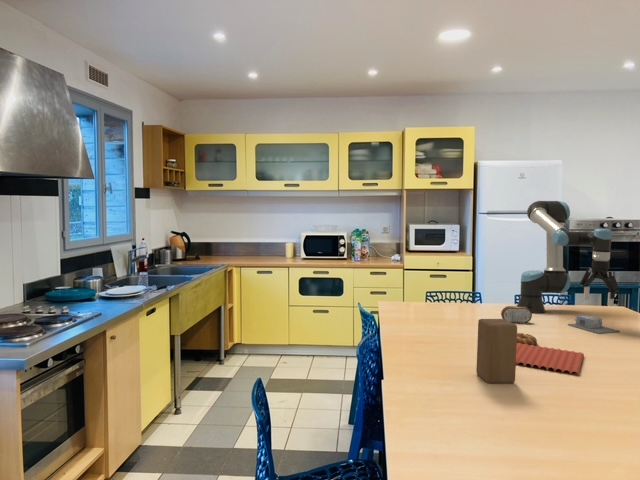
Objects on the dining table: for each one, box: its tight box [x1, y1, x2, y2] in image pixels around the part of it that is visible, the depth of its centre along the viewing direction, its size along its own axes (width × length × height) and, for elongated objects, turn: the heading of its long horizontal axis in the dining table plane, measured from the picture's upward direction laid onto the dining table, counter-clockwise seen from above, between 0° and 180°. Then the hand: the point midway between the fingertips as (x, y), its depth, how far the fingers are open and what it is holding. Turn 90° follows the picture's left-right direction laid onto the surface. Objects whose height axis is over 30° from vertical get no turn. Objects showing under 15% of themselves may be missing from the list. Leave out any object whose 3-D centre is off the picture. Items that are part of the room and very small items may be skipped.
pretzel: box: [517, 332, 538, 346], centre depth 210 cm, size 12×11×4 cm
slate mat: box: [567, 322, 621, 334], centre depth 239 cm, size 18×14×1 cm
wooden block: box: [475, 318, 518, 384], centre depth 163 cm, size 10×10×20 cm
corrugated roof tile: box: [516, 343, 585, 377], centre depth 187 cm, size 28×28×2 cm
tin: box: [500, 305, 533, 324], centre depth 249 cm, size 15×3×8 cm, turn 84°
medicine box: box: [575, 315, 603, 328], centre depth 241 cm, size 8×4×9 cm
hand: (597, 302), depth 238 cm, fingers open, 13 cm apart
